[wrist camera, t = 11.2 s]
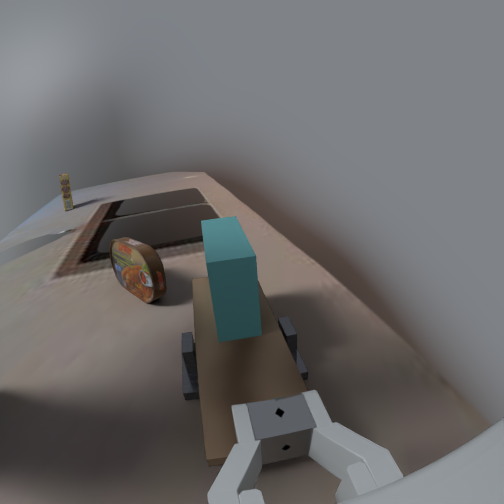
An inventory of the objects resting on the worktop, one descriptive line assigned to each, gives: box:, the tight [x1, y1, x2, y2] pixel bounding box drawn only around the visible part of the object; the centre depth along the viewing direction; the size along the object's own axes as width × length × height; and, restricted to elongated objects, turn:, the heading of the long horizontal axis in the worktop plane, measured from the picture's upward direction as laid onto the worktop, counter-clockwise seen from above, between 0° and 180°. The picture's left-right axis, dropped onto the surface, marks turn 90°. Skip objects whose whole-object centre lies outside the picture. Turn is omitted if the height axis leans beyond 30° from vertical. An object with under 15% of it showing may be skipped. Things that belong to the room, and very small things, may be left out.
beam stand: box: [182, 317, 308, 400], centre depth 34 cm, size 12×16×5 cm
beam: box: [192, 277, 308, 466], centre depth 29 cm, size 8×26×2 cm, turn 11°
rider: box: [201, 216, 262, 342], centre depth 32 cm, size 4×12×8 cm, turn 11°
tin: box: [110, 237, 167, 303], centre depth 46 cm, size 15×3×8 cm, turn 47°
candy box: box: [59, 173, 74, 211], centre depth 115 cm, size 9×4×15 cm, turn 36°
